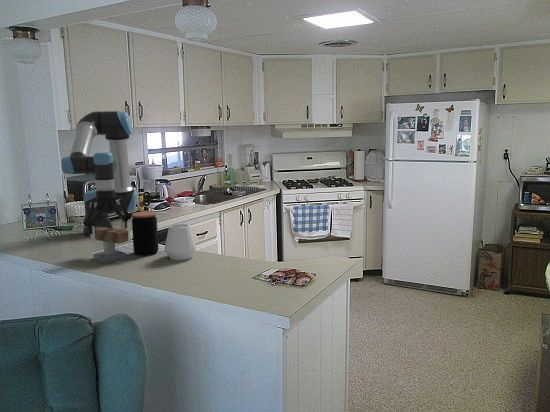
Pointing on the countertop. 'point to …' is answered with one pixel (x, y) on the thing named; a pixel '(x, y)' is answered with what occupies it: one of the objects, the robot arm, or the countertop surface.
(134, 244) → the coffee jar
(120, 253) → the slate fulcrum
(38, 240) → the countertop surface
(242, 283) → the countertop surface
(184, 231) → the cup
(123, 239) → the walnut bar
